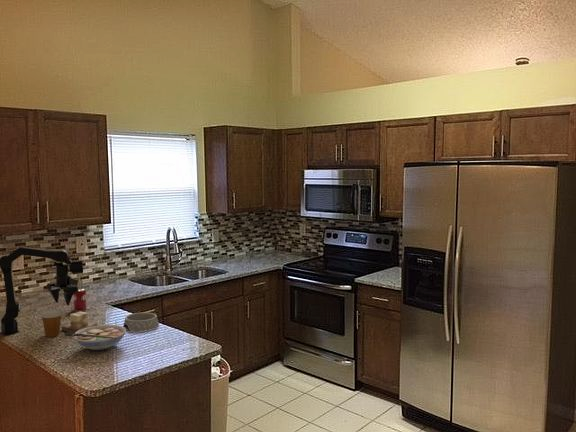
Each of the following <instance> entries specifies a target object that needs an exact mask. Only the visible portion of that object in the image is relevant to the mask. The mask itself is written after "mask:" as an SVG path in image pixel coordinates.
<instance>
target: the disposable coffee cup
mask: <svg viewBox="0 0 576 432" xmlns="http://www.w3.org/2000/svg"><path fill="white" fill-rule="evenodd" d="M62 314H63V312H62V310H61V309H60V308H52V309H51V308H50V309H46V310H43V311H42V312H41V314H40V317H41V319H42V324H43V328H44V329H43V330H44V335H45V337H48V338H51V337H57V336H59V335H60V333H61V332H60V330H61V322H62V321H61V320H62Z"/></svg>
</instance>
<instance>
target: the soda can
mask: <svg viewBox="0 0 576 432" xmlns="http://www.w3.org/2000/svg"><path fill="white" fill-rule="evenodd" d="M87 301H88V300H87V290H86V288H78V292H76V293H74V294H73V296H72V305H73V307H72V308H73V309H72V310H73V311H74V312H80V311H81V312H85V311H86V310H87V309H88V305H87Z"/></svg>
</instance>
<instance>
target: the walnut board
mask: <svg viewBox="0 0 576 432" xmlns="http://www.w3.org/2000/svg"><path fill="white" fill-rule="evenodd" d="M92 326H98V323H95V322H90V321H88V325H85V326H82V327H74V326H71V323H69V324H64V325H62V326H61V331H64V332H67V333H68V332H69V333H76V332H77V331H78V330H81V329H84V328H87V327H92Z"/></svg>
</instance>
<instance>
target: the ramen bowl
mask: <svg viewBox="0 0 576 432" xmlns="http://www.w3.org/2000/svg"><path fill="white" fill-rule="evenodd" d="M126 332H127V331H126V327H125V326H124V327H123V326H122V325H117V324H100V325H98V324H97V326H92V327H87V328H84V329H81V330H78V331H77V332H76V333H71V332H67V333H64V336H68V337H70V336H71V337H73V338H74V340H75V341H76V342H77V344H79V345H80V346H81V347H83V348H85V349H89V350H93V351H105V350H107V349H109V348H111V347H113V346H116V344H118V343H119V342H121V340H122V339H123V338H124V335H126V334H125V333H126ZM104 349H105V350H104Z"/></svg>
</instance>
